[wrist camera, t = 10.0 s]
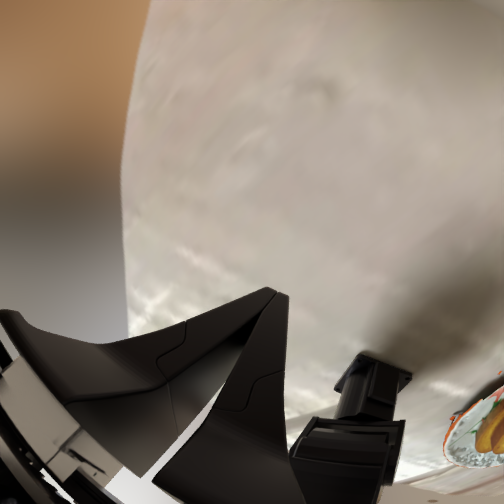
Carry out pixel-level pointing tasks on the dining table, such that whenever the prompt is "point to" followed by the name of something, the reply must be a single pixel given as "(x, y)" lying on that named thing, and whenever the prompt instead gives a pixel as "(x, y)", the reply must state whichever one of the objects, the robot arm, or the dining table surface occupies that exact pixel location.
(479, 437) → the food on plate
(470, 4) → the dining table surface
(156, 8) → the dining table surface
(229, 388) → the robot arm
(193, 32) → the dining table surface
